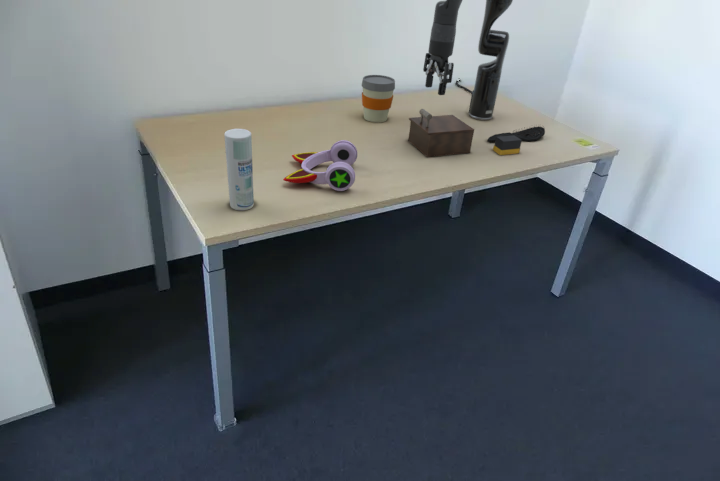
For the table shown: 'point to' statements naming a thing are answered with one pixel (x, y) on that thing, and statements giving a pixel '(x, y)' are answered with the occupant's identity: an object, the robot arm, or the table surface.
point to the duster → (507, 145)
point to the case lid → (439, 124)
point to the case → (440, 142)
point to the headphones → (336, 174)
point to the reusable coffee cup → (377, 97)
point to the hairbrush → (523, 134)
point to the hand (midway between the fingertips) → (434, 90)
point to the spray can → (239, 168)
